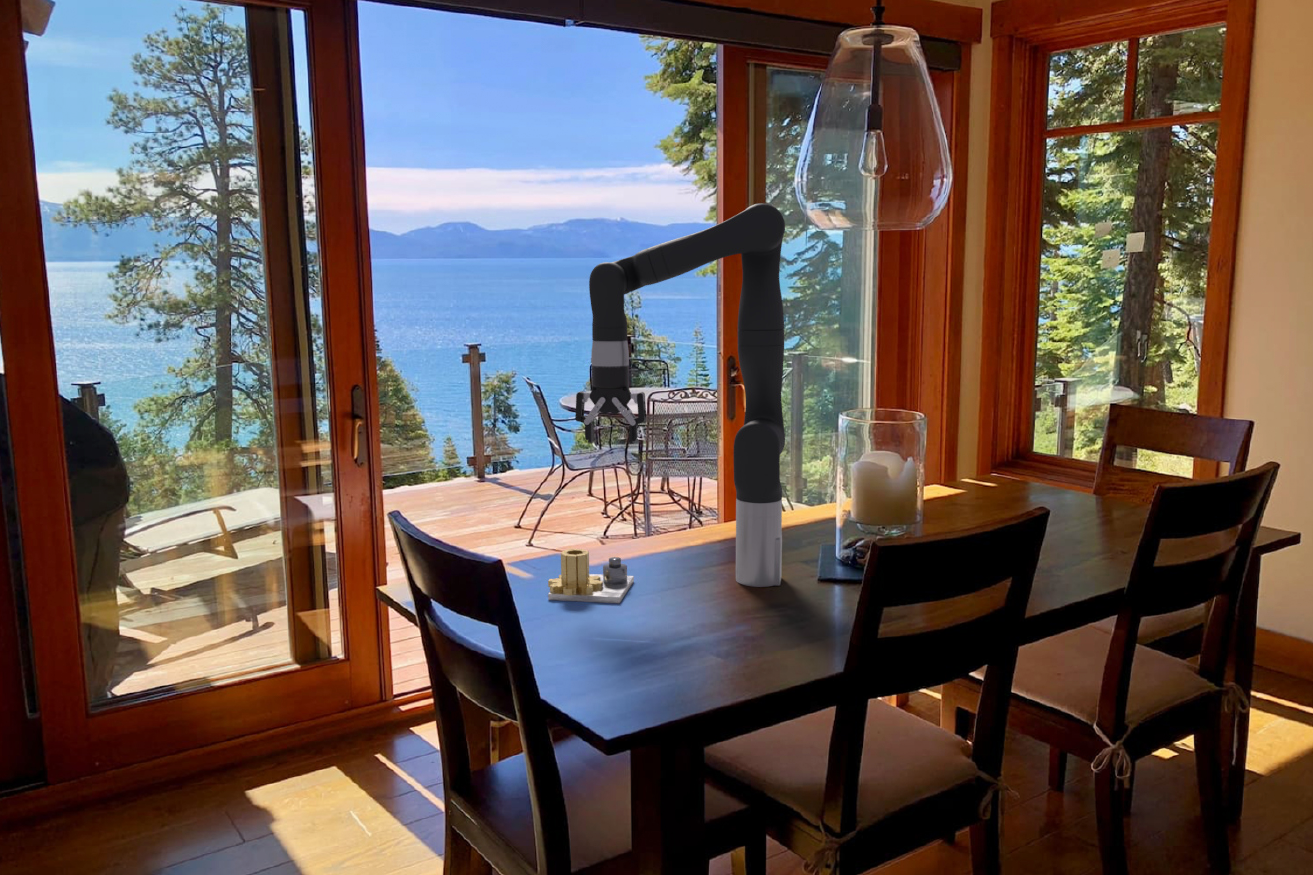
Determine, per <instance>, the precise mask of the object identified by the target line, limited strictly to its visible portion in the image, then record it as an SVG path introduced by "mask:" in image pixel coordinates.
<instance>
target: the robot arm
mask: <svg viewBox="0 0 1313 875" xmlns="http://www.w3.org/2000/svg"><path fill="white" fill-rule="evenodd" d="M785 231H786V221H785V218H784V216H783V214H782V212H781V211H780V210H779V209H778V208H777V207H775V206H773V205H771V204H770V203H769V204H768V203H763V202H761V203H755V204H751V205H750V206H748V207H747V208H745V210H743V211H741V212H739V213H738V214H735V215H734V216H732V217H730V218H728V219H726V220H725V221H722V222H720V223H718V224H716V225H715V224H714V226H711V227H709V228H706V229H703V230H700V231H697V232H694V233H690V234H688V235H685V236H681V237H677V238H674V239H672V240H668V241H665V242H662V243H659V244H656V245H654V246H650V247H648V248H645V249H642V250H640V251H638V252H637V253H635V254H634V255H631V256H628V257H625V258H621V259H618V260H615V261H612V262H611V261H609V262H607V261H605V262H601V263H599V264H597V265H596V266H595V267H594V268H593V269H592V270H591V272H590V275H589V278H588V279H589V282H588V285H589V286H588V288H589V299H590V307H591V313H592V323H591V325H592V326H591V330H592V331H591V332H592V335H591V336H592V338H591V339H592V345H591V353H590V354H591V358H590V363H591V391H590V392H584V391H578V392H577V393H576V398H575V414H574V416H575V418H574V419H575V421H576V422H579V423H581V424H584V439H585V440H586V441H587V443H588V444H593V443H594V442H595V441H594V440H595V437H594V436H595V434H594V433H595V432H594V429H595V428H594V427H595V426H594V423H593V421H594V420H596V417H597V416H598V415H599V414H600V413H602V415H607V414H609V413H610V414H613V415H618V414H620V413H621V415H622V416H623V417H624V418H625V419H626V420H627V422H628V423H629V425H628V441H629V445H631V444H633V445H634V443H635V441H636V442H637V440H638V437H639V436H638V426H639V425H640V424H642V423H645V421H646V420H647V408H646V406H647V405H646V404H647V403H646V394H645V392H644V391H640V392H636V393H634V392H631V390H630V361H629V360H630V352H629V345H628V342H629V341H628V319H627V318H628V317H627V314H626V313H625V295H627V294H630V293H631V292H634V291H636V290H640V289H641V288H644V287H647V286H651V285H655V284H659V283H662V282H664V281H667V280H670V279H673V278H675V277H678V276H681V275H684V274H687V273H688V272H691V271H694V270H695V269H698V268H700V267H702V266H705V265H707V264H710V263H712V262H714V261H717V260H721V259H724V258H727V257H731V256H733V255H739V254H740V255H741V256H740V257H741V268H742V283H741V289H740V290H741V291H740V297H739V304H738V314H737V315H738V316H737V355H738V356H737V357H738V363H739V368H740V372H741V377H742V380H743V385H744V391H745V410H744V411H745V412H744V421H743V425H742V427H740V428H739V430H738V431H737V432H736V434H735V437H734V442H733V483H734V487H735V494H736V496H735V498H736V499H735V581H736V582H737V583H738V584H740V585H743V586H748V587H753V588H754V587H757V588H759V587H760V588H764V587H773V586H781V583H782V568H783V567H782V564H783V563H782V559H783V558H782V557H783V556H782V555H783V554H782V552H783V533H782V528H783V526H782V525H783V524H782V521H783V520H782V518H783V517H782V516H783V514H782V511H783V486H782V484H781V475H780V474H781V473H780V472H781V470H780V469H781V468H780V465H781V464H780V463H781V462H780V458H781V456H780V455H781V454H782V453H783V451H784V448H785V445H786V432H785V426H784V425H785V424H784V415H783V406H782V405H783V404H782V403H783V402H782V389H783V388H782V387H783V376H784V375H783V373H784V357H785V318H784V317H785V316H784V305H783V304H784V303H783V297H782V292H781V290H782V289H781V284H780V267H781V257H782V256H781V254H782V247H783V246H782V245H783V240H784V235H785V233H786V232H785ZM589 399H590V401H591V402H592V404H593V405H594V406H593V407H592V409H591V410H590V412H589V413H588V415H587V416H586V415H585V404H586V403H587V402H588V400H589ZM631 400H633V402H634V404H635V405H637V417H636V415H635V414H634V413H633V411H632V410H631V408H630V407H629V405H628V403H629V402H630V401H631Z"/></svg>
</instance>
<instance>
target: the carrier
mask: <svg viewBox="0 0 1313 875" xmlns="http://www.w3.org/2000/svg"><path fill="white" fill-rule="evenodd" d="M589 576H599V577H600V580H601V581H603V588H602V589H597V590H593V593H591V594H585V593H584V594H581V593H579V592H577V594H573V595H572V596H571V595H565V594H563V592H560V593H558V592H555V593H553V592H551V591H550V590H549V592H548V595H547V596H548V597H547V599H548V601H562V602H563V601H564V602H565V601H566V602H585V603H586V602H587V603H602V604H603V603H605V604H606V603H607V604H621V602H622V601H623V599H624V597H625V596H626V595H627V593H628V591H629V590H630V588H631V587H632V585H633V584H634V582H635V580H634V578H635V576H634V575H628V565H626V564H625V563H622V559H621V557H618V556H617V557H616V556H614V557H609V558H608V563H606V564H604V565H603V566H602V574H601V573H600V574H599V573H598V574H596V573H595V574H594V573H589Z"/></svg>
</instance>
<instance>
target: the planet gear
mask: <svg viewBox="0 0 1313 875" xmlns="http://www.w3.org/2000/svg"><path fill="white" fill-rule="evenodd" d="M589 574H590V552H589V550H586V549H583V548H570V549H565V550H562V551H561V552H560V574H558V577H557V578H556V577H555V578H549V579H548V581H547V587H548V588H549V592H550V591H551V592H553V593H555V592H558V593H560V592H563V594H565V595H571V596H572V595H573V594H577V592H579V593H581V594H584V593H585V594H591V593H593V590H597V589H602V588H603V581H601V580H600V577H599V576H589Z"/></svg>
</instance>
